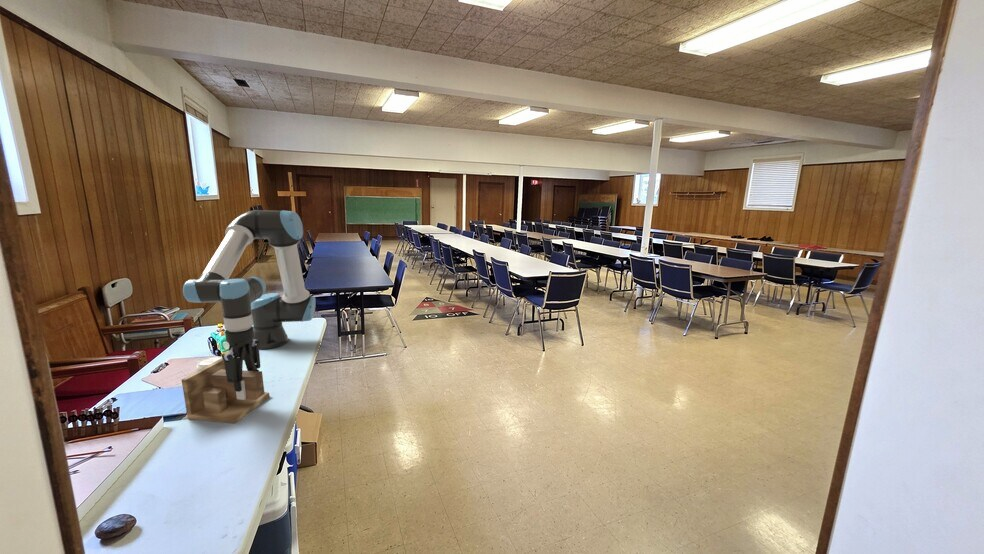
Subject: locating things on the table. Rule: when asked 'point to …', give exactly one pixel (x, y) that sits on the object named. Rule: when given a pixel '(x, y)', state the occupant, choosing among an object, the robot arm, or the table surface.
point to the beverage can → (207, 362)
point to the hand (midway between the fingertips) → (247, 394)
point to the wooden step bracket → (214, 397)
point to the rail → (251, 380)
